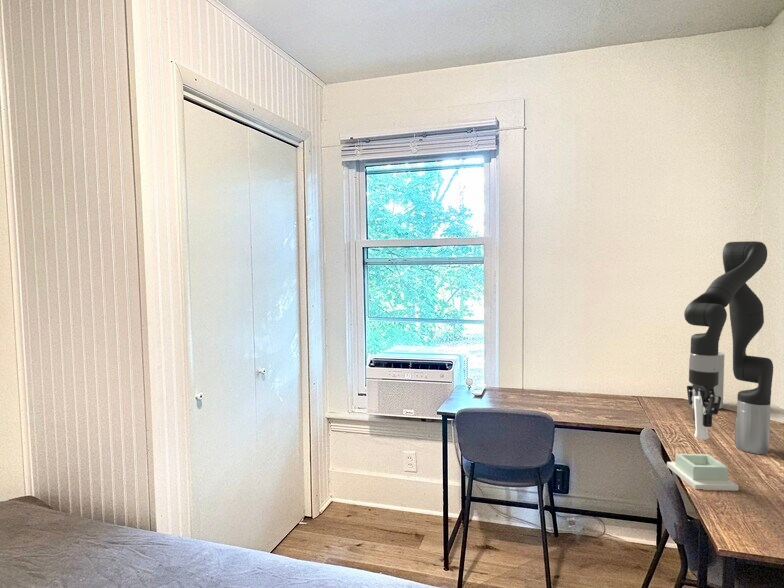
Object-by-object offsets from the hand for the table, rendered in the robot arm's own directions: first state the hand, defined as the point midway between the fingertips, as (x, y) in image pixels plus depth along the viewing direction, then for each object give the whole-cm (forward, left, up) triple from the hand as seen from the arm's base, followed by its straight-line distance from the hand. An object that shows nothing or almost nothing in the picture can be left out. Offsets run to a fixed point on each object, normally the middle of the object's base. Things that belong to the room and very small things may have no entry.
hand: (702, 423), depth 142 cm
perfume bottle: (0, 0, -5) cm, 5 cm away
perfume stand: (0, 0, -17) cm, 17 cm away
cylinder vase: (-77, +46, -17) cm, 91 cm away
